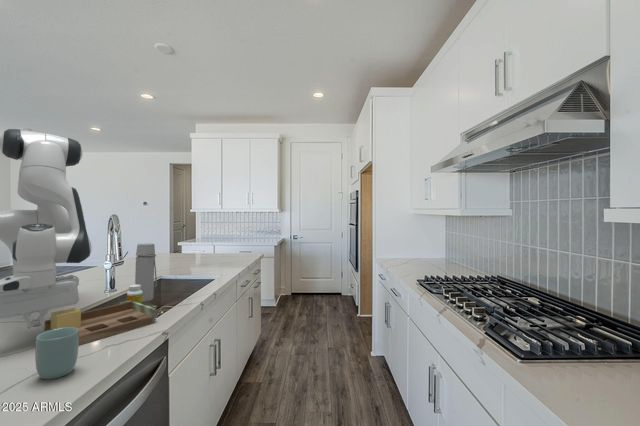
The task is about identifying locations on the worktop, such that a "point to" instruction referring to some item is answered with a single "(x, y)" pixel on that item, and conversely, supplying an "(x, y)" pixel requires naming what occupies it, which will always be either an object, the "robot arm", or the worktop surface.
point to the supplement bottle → (135, 294)
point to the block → (66, 318)
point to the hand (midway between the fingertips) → (34, 326)
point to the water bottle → (145, 270)
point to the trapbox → (112, 320)
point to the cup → (56, 352)
